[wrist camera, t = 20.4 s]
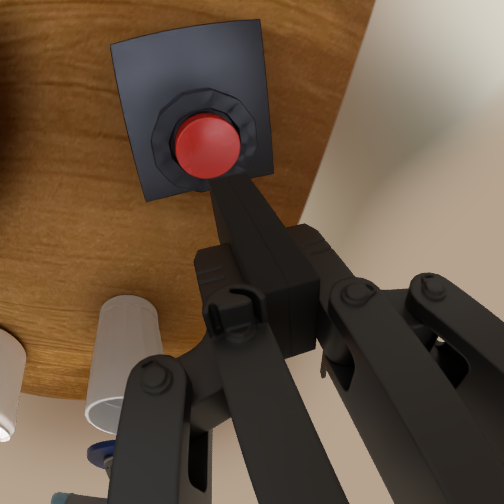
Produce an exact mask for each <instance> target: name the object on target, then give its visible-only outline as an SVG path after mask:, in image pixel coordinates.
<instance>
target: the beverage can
mask: <svg viewBox="0 0 504 504" xmlns="http://www.w3.org/2000/svg"><path fill="white" fill-rule="evenodd" d="M25 364H26V352H25V350H24V348H23V347H22V345H21V344H20V343H19V342H18V340H16V339H15V338H14V337H13V336H12V335H10V334H9V333H7V332H6V331H4V330H2V329H0V442H7V441H9V440H10V436H11V435H12V434H13V433H14V431H15V427H16V418H17V410H18V403H19V397H20V390H21V385H22V379H23V374H24V369H25Z"/></svg>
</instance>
